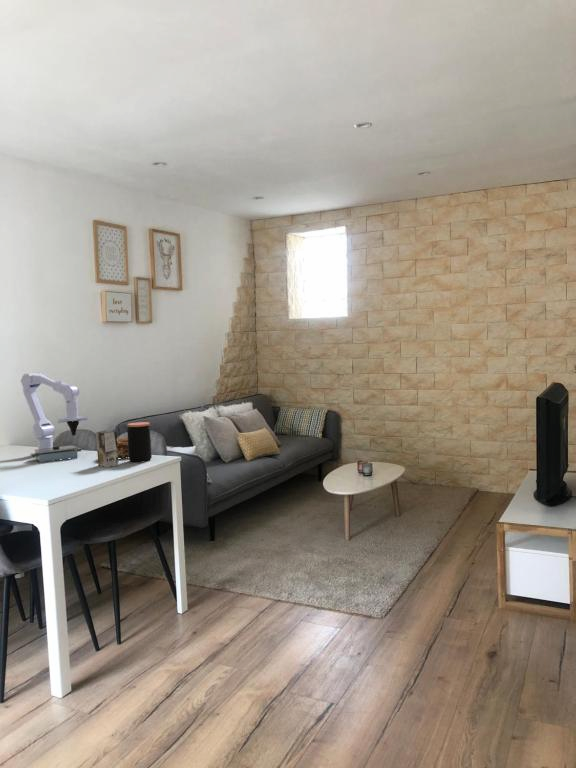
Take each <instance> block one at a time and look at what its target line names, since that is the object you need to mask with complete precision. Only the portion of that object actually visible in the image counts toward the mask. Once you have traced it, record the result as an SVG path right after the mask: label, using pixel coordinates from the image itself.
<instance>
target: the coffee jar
mask: <svg viewBox="0 0 576 768" xmlns="http://www.w3.org/2000/svg"><path fill="white" fill-rule="evenodd" d="M126 424H127V425H126V426H127V432H126V433H127V438H128V450H129V458H128V459H129V461H130V462H131V461H132V462H131V463H142V462H141V461H146V462H148V461H147V460H150V459H151V460H152V453H153V452H152V442H151V441H152V439H151V438H152V437H151V428H150V425H151V424H150V422H149V421H148V422H147V421H141V422H131V423H126ZM151 460H150V461H151Z"/></svg>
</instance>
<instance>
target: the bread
mask: <svg viewBox="0 0 576 768" xmlns="http://www.w3.org/2000/svg"><path fill="white" fill-rule="evenodd" d="M117 450H118V458H126V457H129V450H128V436H126V437H117ZM126 459H127V458H126Z"/></svg>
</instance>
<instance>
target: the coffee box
mask: <svg viewBox="0 0 576 768" xmlns="http://www.w3.org/2000/svg"><path fill="white" fill-rule="evenodd" d="M117 433H118V432H117V431H116V430H108V429H107V430H100V431H96V432H95V438H96V441H95V442H96V452H97V453H96V454H97V465H100V466H99V467H102V466H104V468H111V467H110V466H113V467H117V466H116V465H118V466H119V459H118V450H117V439H118V436H117Z"/></svg>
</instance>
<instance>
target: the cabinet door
mask: <svg viewBox="0 0 576 768" xmlns="http://www.w3.org/2000/svg"><path fill="white" fill-rule="evenodd" d="M78 448H79V447H78V446H74V445H73V444H72V445H64V446H59V445H53V448H44V449H38V448H36V449H34V453H35V452H37V453H39V454H40V453H49V452H57V451H66V450H74V449H78Z"/></svg>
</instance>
